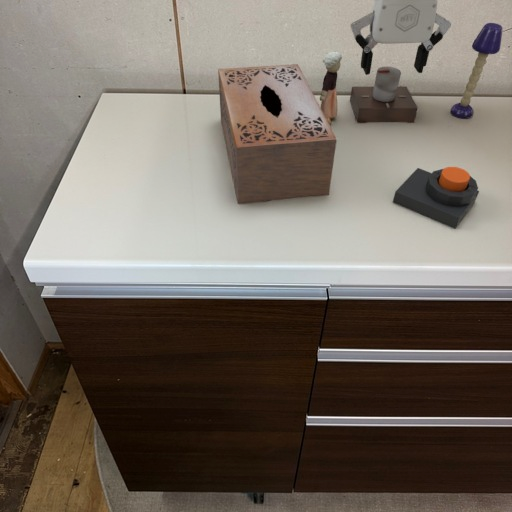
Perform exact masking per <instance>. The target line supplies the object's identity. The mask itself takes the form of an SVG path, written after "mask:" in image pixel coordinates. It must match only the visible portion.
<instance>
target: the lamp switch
mask: <svg viewBox="0 0 512 512" xmlns="http://www.w3.org/2000/svg"><path fill="white" fill-rule="evenodd" d="M442 169H443V170H442V173H441V176H440V178H439V184H440V186H441V187H442V188H444V189H447V190H449V191H455V192H461V191H463V190H465V189H466V187H467V185H468V182H469V180H470V176H471V174H470V173H469V172H468V171H467V170H465V169H463V168H461V167H458V166H446V167H444V168H442Z"/></svg>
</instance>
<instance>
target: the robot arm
mask: <svg viewBox="0 0 512 512" xmlns="http://www.w3.org/2000/svg"><path fill="white" fill-rule="evenodd" d="M438 2H439V1H438V0H374V3H373V7H372V10H371V12H370V13H367V14H366V15H364V16H362V17H361V18H359V19H357V20H355V21H352V23H351V24H350V25H349V27H350V29H351V32H352V35H353V37H354V40H355V42H356V43H357V45H358V46H359V47H360V48H361V50H362V51H361V60H360V69H362V70H363V72H364V74H365V75H366V76H368V75H370V74H371V69H372V63H373V58H374V57H373V56H374V52H373V51H372V50H373V49H374V48H375V47H376V46H377V45H378V43H379V44H384V45H388V44H389V45H390V44H393V45H394V44H418V43H419V45H418V46H417V49H416V53H415V59H414V62H413V63H414V64H413V67H414V69H415V70H416V72H417V73H418V74H422V73H423V72H424V67H426V66H427V63H428V59H429V55H430V51H432V50H433V49H434V47H435V46H436V45H437V44H438V43H439V42H441V41H442V40H443V38H444V35H446V33H448V31H449V29H450V28H451V26H452V22H451V21H450V20H448V19H447V18H446V17H444V16H442V15H440V14H439V13H438V12H437V8H438ZM435 24H437V25H438V27H437V28H436V30H435V31H434V27H435ZM368 26H369V32H370V33H368V34H367V35H366V36H365V37H364V35H362V33H361V31H362V29H364V28H366V27H368ZM433 31H434V32H433Z"/></svg>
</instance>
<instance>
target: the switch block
mask: <svg viewBox="0 0 512 512" xmlns="http://www.w3.org/2000/svg"><path fill="white" fill-rule="evenodd" d="M443 169H444V168H441V169H437V170H434V171H432V172H430V171H427V170H424V169H422V168H419V167H417V168H416V169H415V170H414V172H413V173H412V174H410V175H409V177H408V178H407V179H406V180H405V181H404V182H403V183H402V184H401V185H400V186H399V187H398V188H397V189H396V190H395V193H394V196H393V199H392V203H393V204H396V205H398V206H401V207H402V208H404V209H407V210H410V211H412V212H414V213H416V214H419V215H421V216H424V217H426V218H428V219H431V220H433V221H435V222H438V223H440V224H442V225H445V226H447V227H450V228H452V229H454V230H456V229H457V227H458V226H459V224H460V223H461V222H462V221H463V219H464V217H465V216H466V215H467V214H468V212H469V211H470V210H471V208H472V207H473V205H475V202H476V200H477V198H478V196H479V193H480V190H478V189H479V186H478V183H477V180H476V179H474V178H473V177H472V176H471V175H470V180H469V182H468V185H467V187H466V189H465V190H463V191H461V192H455V191H449V190H447V189H444V188H442V187H441V186H440V184H439V178H440V176H441V173H442V170H443Z"/></svg>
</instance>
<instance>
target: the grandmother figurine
mask: <svg viewBox="0 0 512 512" xmlns="http://www.w3.org/2000/svg"><path fill="white" fill-rule="evenodd" d="M342 59H343V55H342V54H341V53H340V52H337V51H330V52H327V54H326V55H325V56H324V58H323V59H322V63H324V66H325V69H326V73H325V75H324V76H323V82H322V87H321V92H320V96H319V101H321V103H320V108H321V110H322V112H323V114H324V116H325V118H326V120H327V122H328V124H329V125H331V124H332V119H334V118H335V117H337V116H338V93H337V81H338V71H339V70H340V68H341V61H342Z"/></svg>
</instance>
